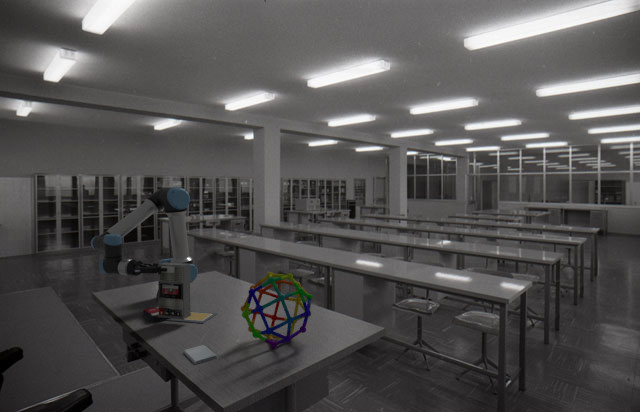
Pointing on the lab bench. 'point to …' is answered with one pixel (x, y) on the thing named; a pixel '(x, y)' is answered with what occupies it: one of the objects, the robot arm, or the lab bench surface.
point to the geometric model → (276, 308)
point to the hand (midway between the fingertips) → (175, 269)
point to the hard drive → (199, 354)
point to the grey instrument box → (174, 292)
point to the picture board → (196, 317)
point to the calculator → (153, 315)
